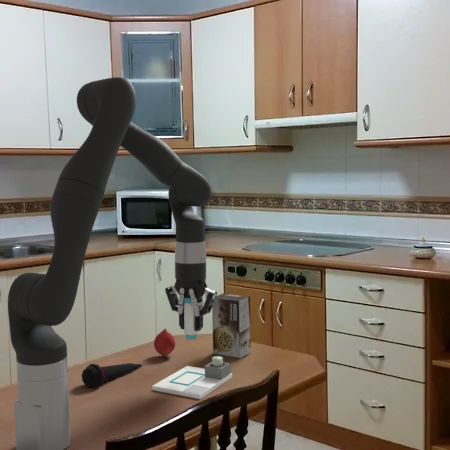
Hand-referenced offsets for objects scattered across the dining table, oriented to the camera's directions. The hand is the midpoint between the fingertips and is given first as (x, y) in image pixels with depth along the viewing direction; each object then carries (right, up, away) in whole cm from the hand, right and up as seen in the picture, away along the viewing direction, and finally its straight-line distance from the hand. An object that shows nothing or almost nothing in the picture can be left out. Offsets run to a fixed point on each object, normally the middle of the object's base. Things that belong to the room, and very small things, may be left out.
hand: (191, 329), depth 156 cm
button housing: (+6, -12, +2) cm, 13 cm away
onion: (-8, -11, +20) cm, 24 cm away
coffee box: (+10, -11, +23) cm, 27 cm away
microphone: (-19, -13, +4) cm, 23 cm away
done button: (+6, -10, +2) cm, 12 cm away
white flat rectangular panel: (+1, -13, -1) cm, 13 cm away
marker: (0, -2, 0) cm, 2 cm away
